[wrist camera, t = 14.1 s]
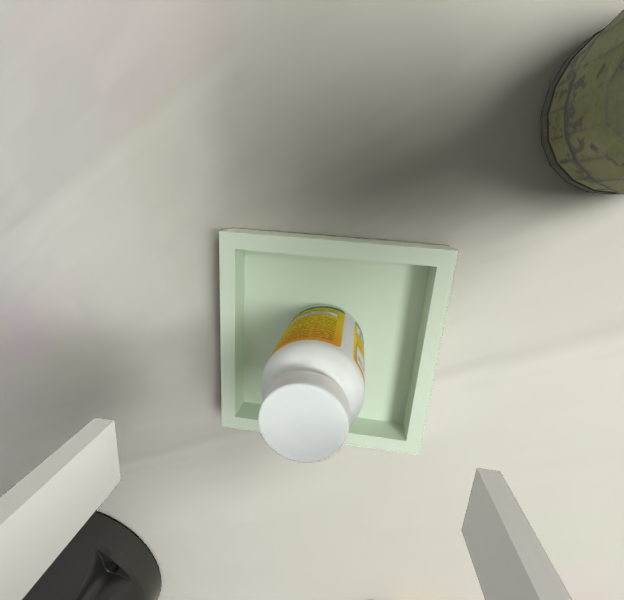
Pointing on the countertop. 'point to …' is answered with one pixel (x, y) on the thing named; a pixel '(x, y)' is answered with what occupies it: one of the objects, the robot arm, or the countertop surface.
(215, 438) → the countertop surface
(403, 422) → the tray
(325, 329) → the supplement bottle
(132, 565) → the robot arm
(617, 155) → the thermos
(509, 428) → the countertop surface
